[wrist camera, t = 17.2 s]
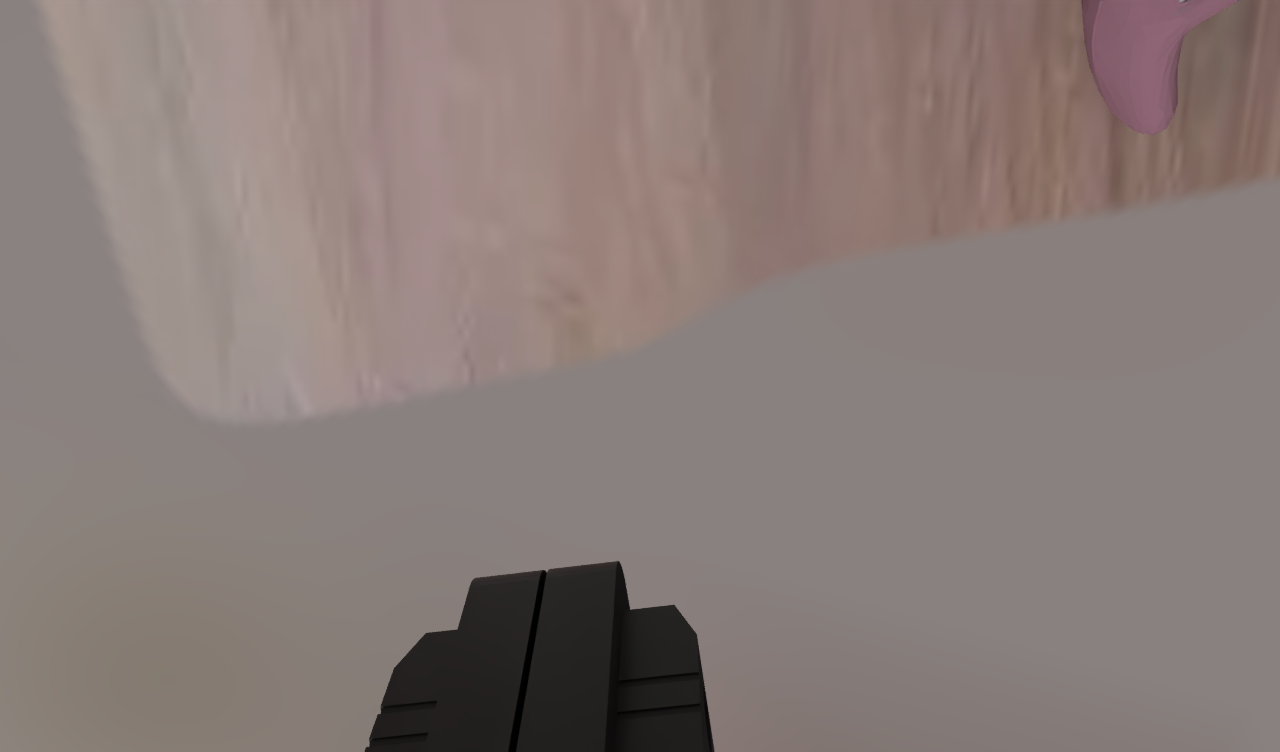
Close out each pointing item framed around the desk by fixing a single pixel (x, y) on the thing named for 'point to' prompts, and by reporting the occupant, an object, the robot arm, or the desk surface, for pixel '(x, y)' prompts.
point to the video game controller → (1141, 54)
